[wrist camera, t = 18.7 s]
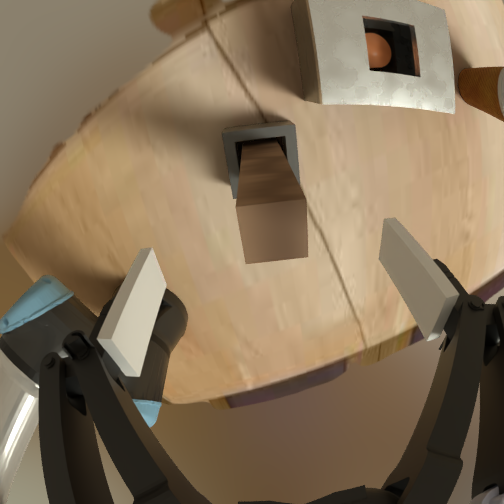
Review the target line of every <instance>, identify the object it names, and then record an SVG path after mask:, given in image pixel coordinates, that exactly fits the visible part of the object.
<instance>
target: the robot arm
mask: <svg viewBox="0 0 504 504" xmlns="http://www.w3.org/2000/svg"><path fill="white" fill-rule="evenodd" d="M379 260H380V262H381V263H382V265H383V266H384V268H385V269H386V271H387V273H388V274H389V276H390V277H391V279H392V281H393V282H394V284H395V286H396V287H397V289H398V291H399V292H400V294H401V296H402V298H403V299H404V301H405V303H406V304H407V306H408V308H409V310H410V312H411V313H412V315H413V317H414V319H415V321H416V322H417V324H418V326H419V328H420V330H421V332H422V334H423V336H424V338H425V339H426V341H430V340H433V339H436V338H439V337H440V335H441V333H442V331H443V329H444V331H445V332H446V334H447V335H446V337H445V339H444V341H443V342H442V344H441V346H440V348H439V350H441V348H442V351H441V355H440V358H439V363H438V366H437V369H436V373H435V376H434V379H433V383H432V386H431V388H430V392H429V394H428V397H427V400H426V403H425V406H424V408H423V411H422V413H421V416H420V418H419V421H418V423H417V426H416V428H415V430H414V433H413V435H412V437H411V439H410V442H409V444H408V446H407V448H406V450H405V452H404V454H403V456H402V458H401V460H400V462H399V463H398V465H397V467H396V468H395V469H394V470H393V472H392V473H391V474H390V475H389V477H388V478H387V480H386V482H385V483H384V485H383V486H382V488H381V489H377V488H365V485H363V486H360V487H356V488H352V489H347V490H343V491H338V492H334V493H332V494H330V495H328V496H325V497H323V498H320V499H317V500H315V501H312V502H309V503H307V504H447V502H448V500H449V498H450V496H451V494H452V492H453V489H454V487H455V485H456V482H457V480H458V478H459V475H460V473H461V470H462V467H463V461H462V460H461V458H460V454H461V451H462V448H463V445H464V442H465V439H466V436H467V432H468V429H469V426H470V422H471V418H472V414H473V411H474V406H475V402H476V397H477V393H478V388H479V382H480V423H479V438H478V448H477V457H476V464H475V470H474V476H473V483H472V500H471V501H470V503H469V504H504V296H501V297H499V298H498V300H497V302H496V304H485V303H484V301H483V300H482V299H481V298H479V297H477V296H475V295H468V293H467V292H466V291H465V289H464V288H463V287H462V285H461V284H460V283H459V281H458V280H457V279H456V278H455V277H454V275H453V274H452V273H451V272H450V270H449V269H448V268H447V266H446V265H445V264H444V263H442V262H441V261H439V260H438V259H434V260H432V258H431V257H430V256H429V255H428V254H427V252H426V251H425V250H424V249H423V248H422V247H421V245H420V244H419V243H418V242H417V241H416V240H415V239H414V237H413V236H412V235H411V234H410V233H409V232H408V231H407V230H406V229H405V228H404V226H403V225H402V224H401V223H400V222H399V221H398V220H397V219H396V218H387V219H384V223H383V231H382V239H381V246H380V253H379ZM166 286H167V284H166V282H165V279H164V277H163V274H162V272H161V269H160V267H159V264H158V261H157V259H156V256H155V253H154V251H153V248H152V247H151V248H145V249H140V251H139V253H138V255H137V257H136V258H135V260H134V262H133V264H132V266H131V268H130V270H129V272H128V274H127V276H126V278H125V279H124V281H123V283H122V285H120V286H119V287H118V288H117V289H116V291H115V292H114V294H113V296H112V298H111V300H109V301H108V302H107V304H106V305H105V306H104V307H103V309H102V311H101V313H100V316H99V317H97V316H96V315H95V314H94V313H92V312H91V311H90V310H89V309H88V308H87V307H86V306H85V305H84V304H83V303H82V302H81V301H80V300H79V299H78V298H77V297H76V296H75V295H74V292H73V291H70V290H69V289H68V288H67V287H66V286H65V285H63V284H62V283H61V282H60V281H59V280H58V279H57V278H56V277H54V276H52V275H44V276H42V277H41V278H40V279H39V280H38V281H36V282H35V283H34V284H33V285H32V286H31V288H29V289H28V290H27V291H26V292H25V293H24V294H23V295H22V296H21V297H20V298H19V299H18V301H17V302H16V303H15V304H14V305H13V306H12V307H11V308H10V309H9V310H8V312H7V313H6V314H5V315H4V316H3V317H2V318H1V319H0V334H2V336H1V338H0V504H6V502H7V498H8V495H9V492H10V489H11V486H12V484H13V481H14V478H15V475H16V473H17V470H18V467H19V465H20V462H21V460H22V458H23V455H24V453H25V450H26V448H27V446H28V444H29V441H30V439H31V437H32V435H33V433H34V430H35V428H36V426H37V424H38V422H39V437H40V448H41V458H42V466H43V472H44V478H45V485H46V489H47V495H48V499H49V504H114V502H113V499H112V496H111V493H110V490H109V487H108V483H107V480H106V476H105V473H104V469H103V465H102V462H101V457H100V453H99V448H98V444H97V439H96V434H95V429H94V423H95V426H96V428H97V430H98V432H99V435H100V436H101V439H102V441H103V443H104V445H105V447H106V449H107V451H108V453H109V455H110V457H111V459H112V461H113V463H114V464H115V466H116V468H117V470H118V472H119V473H120V475H121V477H122V479H123V480H124V482H125V484H126V485H127V487H128V488H129V490H130V492H131V493H132V495H133V497H134V502H133V504H212V503H211V502H210V501H209V500H207V499H206V498H205V497H204V496H203V495H202V494H200V493H199V492H198V491H197V490H196V489H195V488H194V487H193V486H192V485H191V483H190V482H189V481H188V480H187V479H186V477H185V476H184V475H183V474H182V472H181V471H180V470H179V469H178V467H177V466H176V465H175V463H174V462H173V461H172V459H171V458H170V457H169V455H168V454H167V453H166V451H165V450H164V449H163V447H162V446H161V444H160V443H159V441H158V440H157V438H156V437H155V435H154V434H153V432H152V431H151V429H150V428H149V427H151V426H153V425H154V423H155V422H156V419H157V416H158V412H159V408H160V407H161V401H162V395H163V389H164V384H165V378H166V373H167V368H168V363H169V358H170V354H171V352H172V351H173V349H174V348H175V346H176V345H177V343H178V342H179V340H180V338H181V337H182V336H183V335H184V333H185V330H186V326H187V321H188V314H187V311H186V308H185V306H184V305H183V303H182V302H181V301H180V299H179V298H178V297H177V296H176V295H174V294H173V293H172V292H170V291H169V290H167V289H166ZM93 421H94V423H93ZM238 504H290V503H281V502H274V501H254V502H238Z"/></svg>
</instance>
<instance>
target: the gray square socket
mask: <svg viewBox="0 0 504 504" xmlns="http://www.w3.org/2000/svg"><path fill="white" fill-rule="evenodd" d="M279 136H282V141H283V151H284V155H285V157H286V159H287V161H288V163H289V165H290V167H291V169H292V171H293V173H294V175H295V177H296V179H297V181H298V183H299V185H300V176H299V162H298V150H297V139H296V128H295V124H294V123H292V122H291V121H281V122H270V123H261V124H253V125H245V126H238V127H231V128H225V129H224V131H223V132H222V137H223V143H224V149H225V155H226V160H227V166H228V172H229V178H230V183H231V189H232V195H233V199H236V198H237V191H238V182H239V173H240V158H239V151H238V145H237V141H245V140H252V139H260V138H269V137H279Z"/></svg>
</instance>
